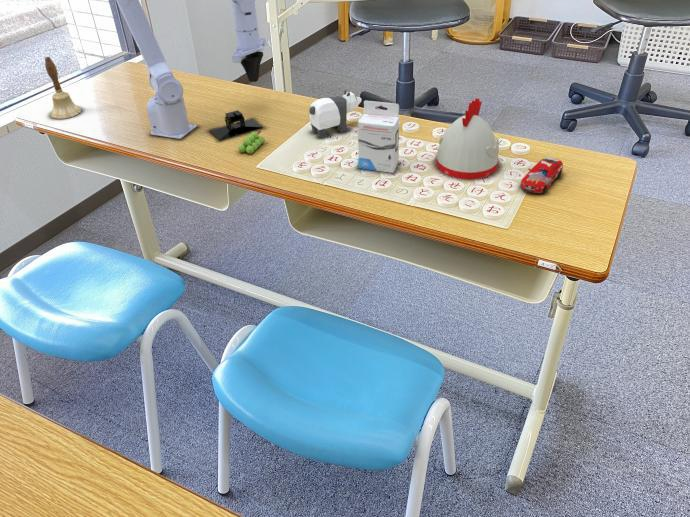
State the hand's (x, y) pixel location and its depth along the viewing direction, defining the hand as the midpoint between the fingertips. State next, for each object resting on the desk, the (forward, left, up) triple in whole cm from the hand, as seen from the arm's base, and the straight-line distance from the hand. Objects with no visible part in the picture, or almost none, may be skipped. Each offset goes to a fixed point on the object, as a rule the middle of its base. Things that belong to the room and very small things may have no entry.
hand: (253, 80), depth 158 cm
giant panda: (+25, -5, -9) cm, 27 cm away
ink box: (+42, -20, -9) cm, 47 cm away
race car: (+78, -16, -9) cm, 80 cm away
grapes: (+9, -20, -9) cm, 24 cm away
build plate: (0, -12, -9) cm, 15 cm away
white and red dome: (+61, -13, -9) cm, 63 cm away
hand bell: (-53, -17, -9) cm, 56 cm away
